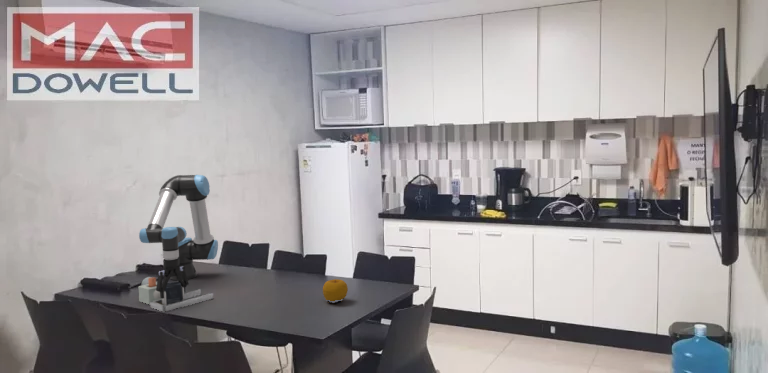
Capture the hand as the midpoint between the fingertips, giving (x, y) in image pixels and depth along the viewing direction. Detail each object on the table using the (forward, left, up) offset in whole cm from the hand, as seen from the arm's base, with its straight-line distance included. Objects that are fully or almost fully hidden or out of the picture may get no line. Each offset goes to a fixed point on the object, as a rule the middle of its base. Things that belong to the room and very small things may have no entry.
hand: (173, 301), depth 292 cm
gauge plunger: (+2, -16, +3) cm, 16 cm away
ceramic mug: (-7, -32, -2) cm, 33 cm away
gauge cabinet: (+2, -16, -2) cm, 16 cm away
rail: (-5, 0, -2) cm, 5 cm away
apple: (-53, +62, -2) cm, 82 cm away
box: (0, 0, -1) cm, 1 cm away
